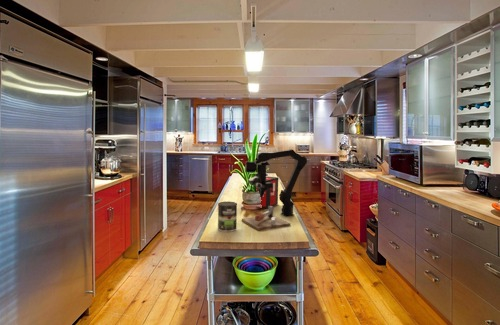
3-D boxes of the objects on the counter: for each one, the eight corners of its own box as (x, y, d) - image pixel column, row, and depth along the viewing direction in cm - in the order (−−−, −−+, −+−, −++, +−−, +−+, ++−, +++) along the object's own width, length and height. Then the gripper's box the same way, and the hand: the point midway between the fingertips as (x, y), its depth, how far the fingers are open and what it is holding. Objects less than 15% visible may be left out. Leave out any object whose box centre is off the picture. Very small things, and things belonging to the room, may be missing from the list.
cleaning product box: (266, 203, 232) (267, 176, 230) (277, 204, 227) (278, 177, 225) (255, 207, 218) (256, 179, 216) (266, 209, 213) (267, 180, 211)
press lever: (269, 215, 192) (269, 205, 192) (273, 216, 191) (273, 206, 190) (254, 223, 175) (254, 212, 174) (259, 224, 174) (259, 213, 173)
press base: (272, 217, 194) (272, 214, 194) (290, 225, 177) (290, 223, 177) (241, 221, 185) (241, 218, 185) (257, 230, 167) (257, 228, 167)
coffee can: (238, 231, 166) (239, 205, 165) (219, 232, 163) (219, 206, 162) (234, 225, 176) (234, 200, 175) (216, 226, 173) (216, 201, 172)
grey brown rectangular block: (271, 222, 178) (271, 217, 178) (275, 222, 178) (275, 217, 178) (271, 225, 172) (271, 220, 172) (274, 225, 172) (274, 220, 172)
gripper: (243, 171, 199) (243, 195, 201) (257, 175, 183) (257, 201, 184) (258, 170, 204) (258, 193, 206) (273, 174, 188) (273, 199, 189)
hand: (261, 196), depth 196 cm, fingers closed
